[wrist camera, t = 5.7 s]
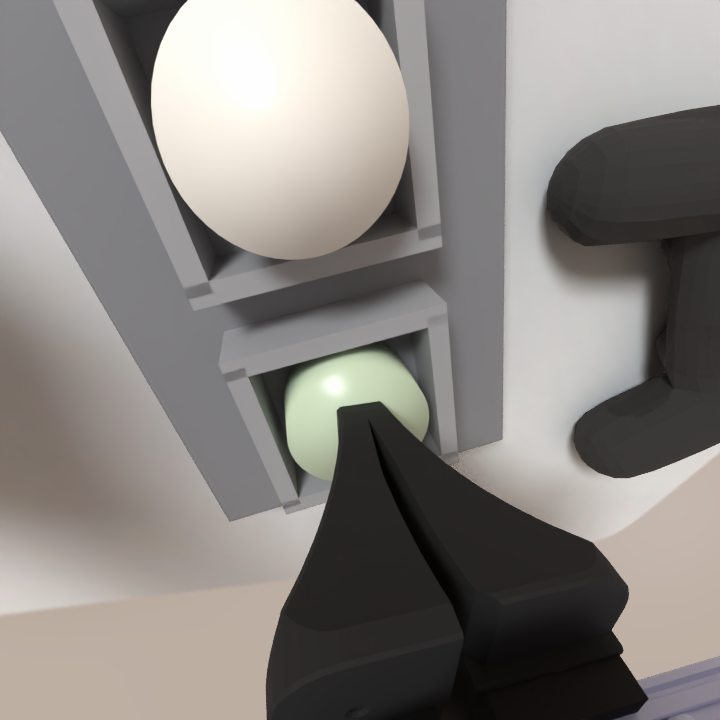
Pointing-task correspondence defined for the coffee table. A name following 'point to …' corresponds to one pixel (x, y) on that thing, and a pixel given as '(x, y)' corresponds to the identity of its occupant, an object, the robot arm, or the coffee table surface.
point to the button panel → (264, 274)
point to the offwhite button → (280, 121)
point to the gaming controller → (687, 277)
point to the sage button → (346, 400)
